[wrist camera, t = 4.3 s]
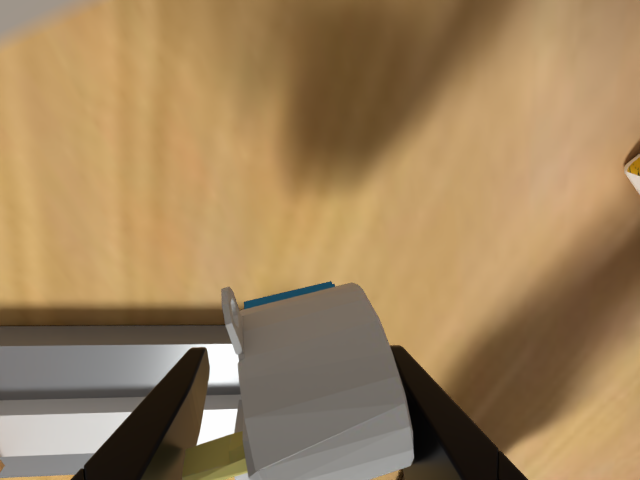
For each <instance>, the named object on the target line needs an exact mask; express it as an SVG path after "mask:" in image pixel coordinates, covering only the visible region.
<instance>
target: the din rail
mask: <svg viewBox="0 0 640 480" xmlns="http://www.w3.org/2000/svg"><path fill="white" fill-rule="evenodd" d="M192 347H205V348H206V349H207V351H208V358H209V365H210V375H209V381H208V387H207V393H206V399H205V405H204V411H203V417H202V423H201V428H200V433H199V437H198V441H197V445H200V444H203V443H206V442H209V441H212V440H215V439H218V438H221V437H224V436H227V435H230V434H233V433H237V432H241V431H243V415H244V413H243V406H242V399H241V392H240V385H239V375H238V363H239V358H238V355H237V354H235V351H234V348H233V345H232V342H231V340H230V337H229V334H228V331H227V328H226V325H174V326H0V460H1V461H2V462H3V464H4V465H5V466H4V468H3V469H2V471H1V472H0V478H9V477H31V476H53V475H75V474H76V473H77V472H78V471H79V470H80V469H81V468H83V469H84V465H85V463H86V462H87V461H88V460H89V459H90V458H91V457H92V456H93V455H94V454H95V452H96V451H97V450H98V449H99V448H100V447H101V446H102V445H103V444H104V443H105V441H106V440H107V439H108V438H109V437H110V436H111V435H112V434H113V433H114V431H115V430H116V429H117V428H118V427H119V426H120V425H121V424H122V423H123V422H124V420H125V419H126V418H127V417H128V416H129V415H130V414H131V413H132V412H133V411H134V409H135V408H136V407H137V406H138V405H139V404H140V403H141V402H142V401H143V400H144V398H145V397H146V396H147V395H148V394H149V393H150V392H151V391H152V390H153V388H154V387H155V386H156V385H157V384H158V383H159V382H160V381H161V380H162V379H163V377H164V376H165V375H166V374H167V373H168V372H169V371H170V370H171V369H172V368H173V366H174V365H175V364H176V363H177V362H178V361H179V360H180V359H181V358H182V357H183V355H184V354H185V353H186V352H187V351H188V350H189V349H190V348H192ZM197 445H196V446H197ZM235 480H249V477H248V473H245V474H242V475H239V476H235Z"/></svg>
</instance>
